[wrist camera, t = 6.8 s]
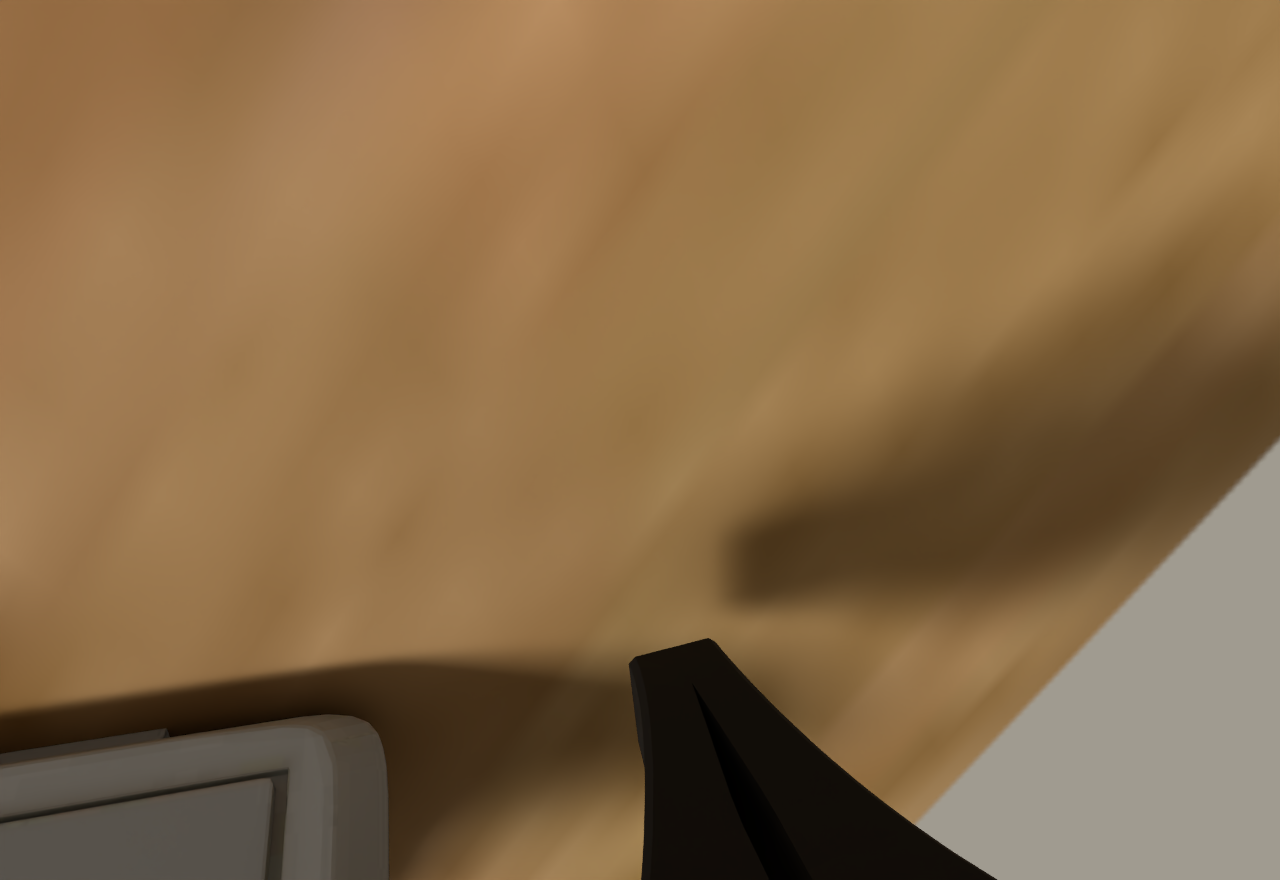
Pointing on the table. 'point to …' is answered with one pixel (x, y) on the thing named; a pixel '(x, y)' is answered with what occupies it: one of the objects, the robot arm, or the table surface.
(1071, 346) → the table surface
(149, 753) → the digital clock
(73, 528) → the table surface
